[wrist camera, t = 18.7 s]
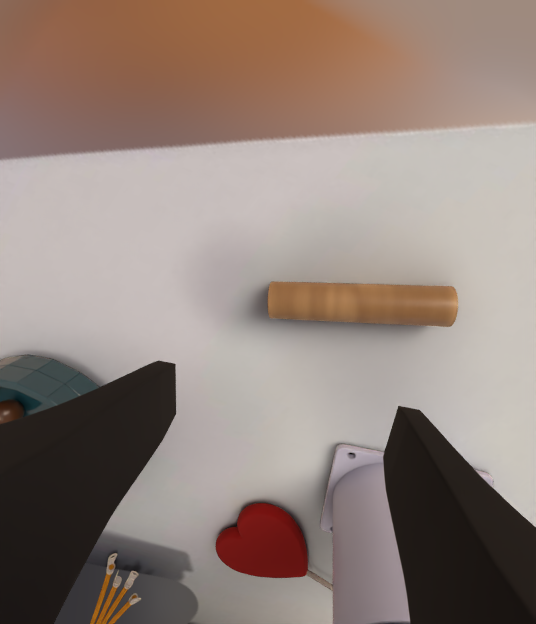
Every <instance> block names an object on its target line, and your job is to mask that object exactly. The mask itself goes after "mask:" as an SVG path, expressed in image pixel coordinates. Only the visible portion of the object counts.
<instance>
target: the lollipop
mask: <svg viewBox="0 0 536 624" xmlns="http://www.w3.org/2000/svg"><path fill="white" fill-rule="evenodd" d="M216 552H217V554H218V556H219V558H220V559H221V561H222V562H223V563H225V564H226V565H227V566H229V567H230V568H232V569H234V570H236V571H238V572H241V573H244V574H248V575H253V576H258V577H269V578H291V577H303V576H305V575H308V576H309V577H311V578H312V579H314V580H316V581H317V582H319V583H321V584H322V585H324V586H325V587H327V588H329V589H330V590H332V591H333V585H332V584H331V583H329V582H327V581H326V580H324V579H323V578H321V577H319V576H318V575H316V574H314V573H313V572H311V571H310V570H308V556H307V548H306V544H305V540H304V537H303V534H302V532H301V530H300V528H299V526H298V525H297V523H296V522H295V521H294V519H293V518H292V517H291V516H290V515H289V514H288V513H287V512H286V511H284V510H283V509H281V508H279V507H277V506H274V505H272V504H267V503H256V504H251V505H249V506H247V507H245V508H244V509H243V510H242V511H241V513H240V514H239V517H238V520H237V527H230V528H227V529H225V530H224V531H222V532H221V533H220V535H219V536H218V538H217V540H216Z"/></svg>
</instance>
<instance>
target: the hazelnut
mask: <svg viewBox="0 0 536 624" xmlns="http://www.w3.org/2000/svg"><path fill="white" fill-rule="evenodd" d="M23 416H24V407H23V405H22V404H21V403H20V402H19V401H17V400H12V399H8V400H4V401H1V402H0V424H2V423H6V422H9V421H13V420H16V419H19V418H22V417H23Z"/></svg>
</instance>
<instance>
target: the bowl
mask: <svg viewBox="0 0 536 624" xmlns="http://www.w3.org/2000/svg"><path fill="white" fill-rule="evenodd" d="M97 388H100V387H99V386H98V385H96V384H95V383H94V382H93V381H91V380H90V379H89V378H88V377H86V376H85V375H84V374H82V373H80V372H79V371H77V370H75V369H73V368H71V367H69V366H67V365H64V364H62V363H60V362H58V361H56V360H54V359H50V358H44V357H39V356H33V355H22V356H15V357H8V358H4V359H2V360H0V402H1V401H4V400H8V399H12V400H17V401H19V402H20V403H21V404H22V405H23V407H24V416H23V417H25V416H28V415H31V414H34V413H37V412H40V411H43V410H46V409H48V408H51V407H54V406H57V405H59V404H62V403H64V402H67V401H69V400H71V399H74V398H76V397H79V396H81V395H83V394H86V393H88V392H90V391H93V390H95V389H97Z"/></svg>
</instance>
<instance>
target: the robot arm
mask: <svg viewBox="0 0 536 624" xmlns="http://www.w3.org/2000/svg"><path fill="white" fill-rule="evenodd" d="M175 415H176V374H175V364H173V363H168V362H163V361H156V362H154V363H151V364H149V365H147V366H144V367H142V368H140V369H138V370H136V371H134V372H132V373H130V374H127V375H125V376H123V377H121V378H119V379H117V380H115V381H113V382H110V383H108V384H106V385H104V386H102V387H100V388H97V389H95V390H93V391H90V392H88V393H86V394H83V395H81V396H79V397H76V398H74V399H71V400H69V401H67V402H64V403H62V404H59V405H57V406H54V407H51V408H48V409H46V410H43V411H40V412H37V413H34V414H31V415H28V416H25V417H22V418H19V419H16V420H13V421H9V422H6V423H2V424H0V624H54V622H55V620H56V618H57V616H58V614H59V612H60V610H61V608H62V606H63V604H64V602H65V600H66V598H67V596H68V594H69V592H70V590H71V588H72V586H73V585H74V583H75V581H76V579H77V577H78V575H79V574H80V571H81V570H82V568H83V566H84V564H85V562H86V560H87V559H88V557H89V555H90V553H91V551H92V549H93V548H94V546H95V544H96V542H97V540H98V539H99V537H100V535H101V533H102V532H103V530H104V528H105V526H106V524H107V523H108V521H109V519H110V517H111V516H112V514H113V513H114V511H115V509H116V508H117V506H118V505H119V503H120V502H121V500H122V499H123V497H124V496H125V494H126V493H127V491H128V490H129V489H130V487H131V486H132V484H133V483H134V481H135V480H136V478H137V477H138V476H139V474H140V473H141V471H142V470H143V468H144V467H145V465H146V464H147V462H148V461H149V460H150V458H151V457H152V455H153V454H154V452H155V451H156V449H157V448H158V446H159V445H160V443H161V442H162V440H163V438H164V436H165V434H166V433H167V431H168V429H169V427H170V425H171V423H172V421H173V419H174V417H175ZM349 453H354V454H349ZM493 483H494V481H493V479H492V477H491V475H490V474H488V473H486V472H482V471H477V470H474V469H473V468H472V467H471V465H470V464H469V463H468V462H467V461H466V460H465V459H464V458H463V457H462V456H461V455H460V454H459V453H458V452H457V451H456V449H455V448H454V447H453V446H452V445H451V444H450V443H449V442H448V441H447V439H446V438H445V437H444V436H443V435H442V434H441V433H440V432H439V431H438V429H437V428H436V427H435V426H434V425H433V424H432V423H431V422H430V421H429V419H428V418H427V417H426V416H425V415H424V414H423V413H422V412H421V411H420V410H417V409H412V408H406V407H401V406H398V409H397V413H396V416H395V419H394V423H393V426H392V429H391V432H390V436H389V439H388V442H387V446H386V449H385V452H381V451H376V450H371V449H366V448H361V447H356V446H351V445H346V444H340V445H338V446H337V447H336V449H335V454H334V459H333V463H332V468H331V473H330V478H329V482H328V487H327V492H326V496H325V501H324V506H323V510H322V515H321V520H320V528H321V529H322V530H323V531H325V532H329V533H333V624H536V527H535V526H533V525H532V524H531V523H530V522H529V521H528V520H527V519H525V518H524V517H523V516H522V515H521V514H520V513H519V512H518V511H516V510H515V509H514V508H513V507H512V506H511V505H510V504H509V503H508V502H507V501H506V500H505V499H504V498H503V497H502V496H501V495H499V494H498V493H497V492H496V491H495V490H494V489H493V488H492V486H493Z"/></svg>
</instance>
